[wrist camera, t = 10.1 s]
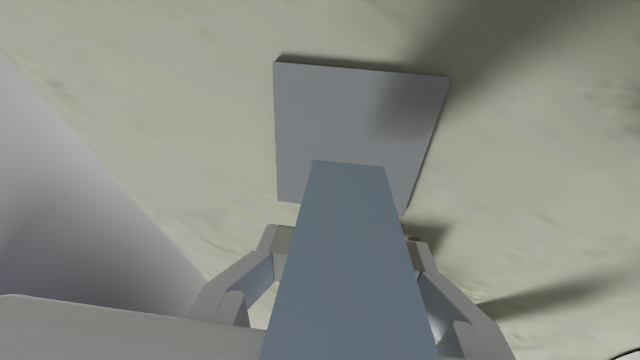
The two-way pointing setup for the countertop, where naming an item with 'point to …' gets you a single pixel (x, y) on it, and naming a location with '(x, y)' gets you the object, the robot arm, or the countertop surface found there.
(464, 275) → the countertop surface
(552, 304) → the countertop surface
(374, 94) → the mat
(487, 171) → the countertop surface
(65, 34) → the countertop surface
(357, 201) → the peg
